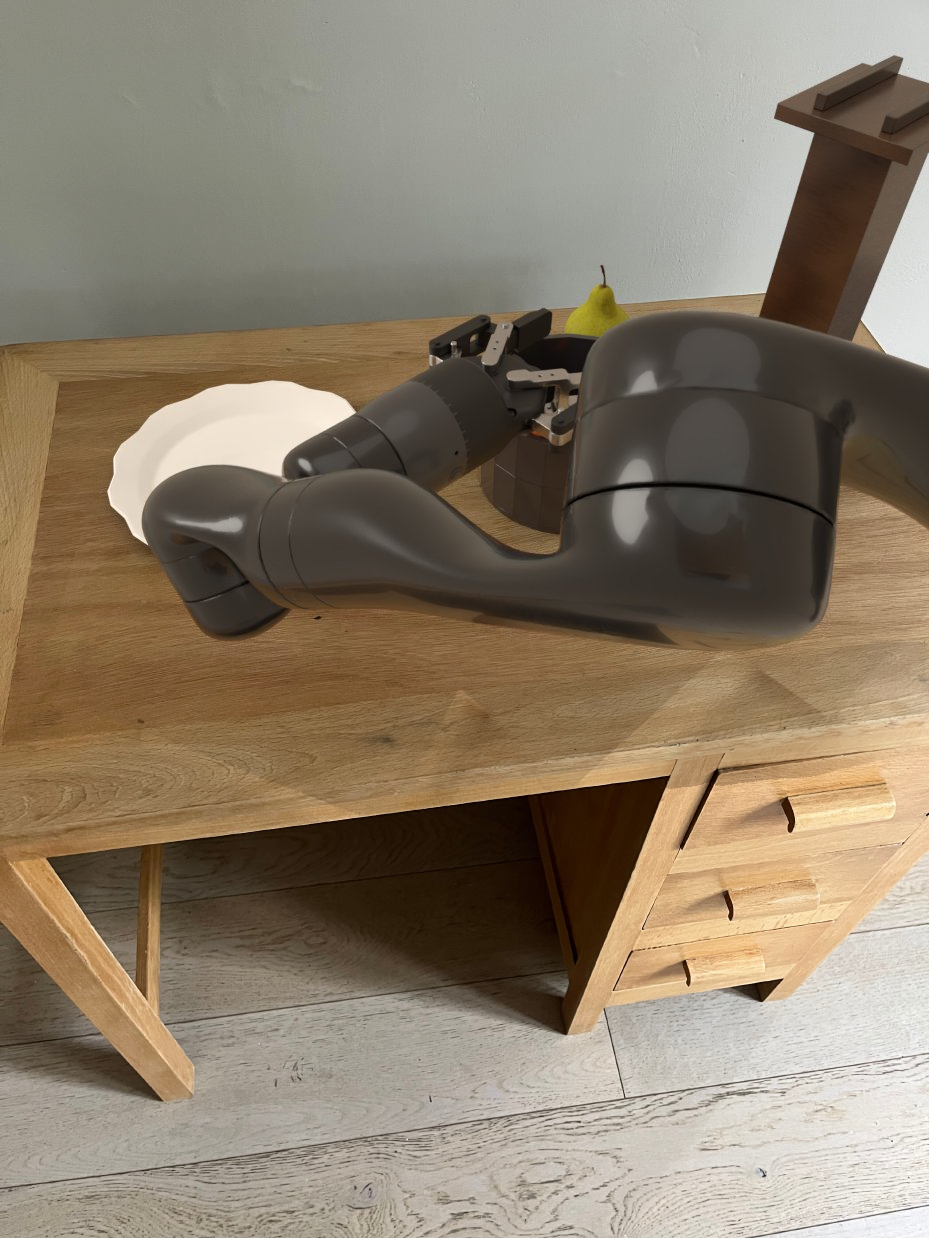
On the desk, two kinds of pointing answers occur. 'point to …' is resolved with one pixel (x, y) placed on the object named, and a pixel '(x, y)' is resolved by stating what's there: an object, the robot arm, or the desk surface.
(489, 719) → the desk surface
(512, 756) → the desk surface
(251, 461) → the plate
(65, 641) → the desk surface
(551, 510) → the pot
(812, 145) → the stand
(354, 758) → the desk surface
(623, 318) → the fruit
